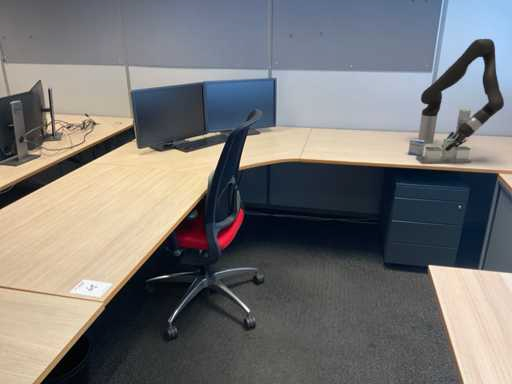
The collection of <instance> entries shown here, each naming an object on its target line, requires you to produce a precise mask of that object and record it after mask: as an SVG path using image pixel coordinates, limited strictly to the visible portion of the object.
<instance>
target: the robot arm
mask: <svg viewBox="0 0 512 384" xmlns="http://www.w3.org/2000/svg"><path fill="white" fill-rule="evenodd" d="M479 58H482V59H483V63H484V64H483V65H484V69H483V75H482V86H483V90H484V93H485V95H486V96H487V97H486V98H487V100H488V102H486V104H485V105H484V106H483V107H482V108H481V109H479V110H478V111H476V112H475V113H474V114H473V115H472V116H470V118H469V119H468V120H467V121H465V122H464V123H463V124H462V125H461V126H460V127H459V128H458V131H457V132H456V131H455V132H454V131H452V132H450V133H449V135H448V136H446V138H445V139H453V142H452V143H451V144H450V145H448V146H447V147H446V148H445V150H446V151H449V150H450V149H451V148H453V147H460V146H461V145H463V144H464V143H466V142H467V140H466V139H465V137H466V138H470V136H472V135H474V133H475V132H476V131H478V130H479V129H480V128H481V127H482V126H483V125H484V124H485V123H486V122H488V120H489V119H490V118H492V116H494V115H496V113H498V112H499V111H501V110H502V109H503V107H504V105H505V102H504V101H505V100H504V97H503V94H502V92H501V90H500V85H499V80H498V76H497V75H498V74H497V65H496V64H497V63H496V47H495V42H494V41H493V40H492V39H490V38H479V39H478V38H477V39H475V40H474V41H473V42H471V44H470V45H468V47H467V49H466V50H465V51H464V52H463V53H462V54H461V56H460V57H458V58H457V59H456V61H455V62H453V64H452V65H451V66H449V67H448V68H446V69H447V70H446V71H444V72H443V73H442V75H440V76H439V77H438V78H437V79H436V80H435V82H433V83H432V84H431V85H429V87H427V88H426V89H425V90H423V92H422V93H421V97H420V101H421V103H422V104H424V105H427V106H426V107H425V108H423V109H422V111H421V118H420V122H419V123H420V124H419V129H418V132H419V133H418V137H417V138H418V139H417V140H425V144H432V143H434V140H435V139H434V138H435V132H436V126H437V121H438V114H439V112H440V110H441V104H442V99H443V91H446V90H447V89H448V88H451V87H452V86H454V85H456V84H457V83H458V82H459V81H460V80H461V79H463V77H465V75H466V74H467V70H468V67H470V65H471V64H472V63H473V62H474V61H475V60H477V59H479ZM454 142H455V143H454ZM440 148H441V149H442V148H443V144H442V145H441V147H440Z"/></svg>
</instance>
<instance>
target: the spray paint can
mask: <svg viewBox="0 0 512 384" xmlns="http://www.w3.org/2000/svg"><path fill="white" fill-rule="evenodd" d="M458 111H459V112H458V117H457V124H456V129H455V133H456V132H457V131H458V128H459V127H460V126H461V125H462V124H463V123H464V122H465V121H467V120H468V119H469V118H471V112H472V110H471V109H470V108H469V109H468V108H459V110H458ZM466 138H467V137H465V140H466Z"/></svg>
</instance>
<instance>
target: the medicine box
mask: <svg viewBox="0 0 512 384" xmlns="http://www.w3.org/2000/svg"><path fill="white" fill-rule="evenodd" d="M425 144H426V143H425V140H418V139H417V138H416V139H415V138H410V139H409V145H408V151H407V152H408V153H407V154H408V155H409V156H410V155H411V156H415V157H416V156H423V155H424V153H425V146H426V145H425Z"/></svg>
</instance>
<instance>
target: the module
mask: <svg viewBox="0 0 512 384" xmlns="http://www.w3.org/2000/svg"><path fill="white" fill-rule="evenodd" d="M452 142H453V139H450V138H449V139H446V138H443V143H442V145H443V148H442V147H441V149H442V151H441V156H444V157H453V151H454V147H453V148H451V149H450V150H449V151H446V150H445V148H446V147H447V146H448V145H450V144H451V143H452ZM454 143H455V142H454Z"/></svg>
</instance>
